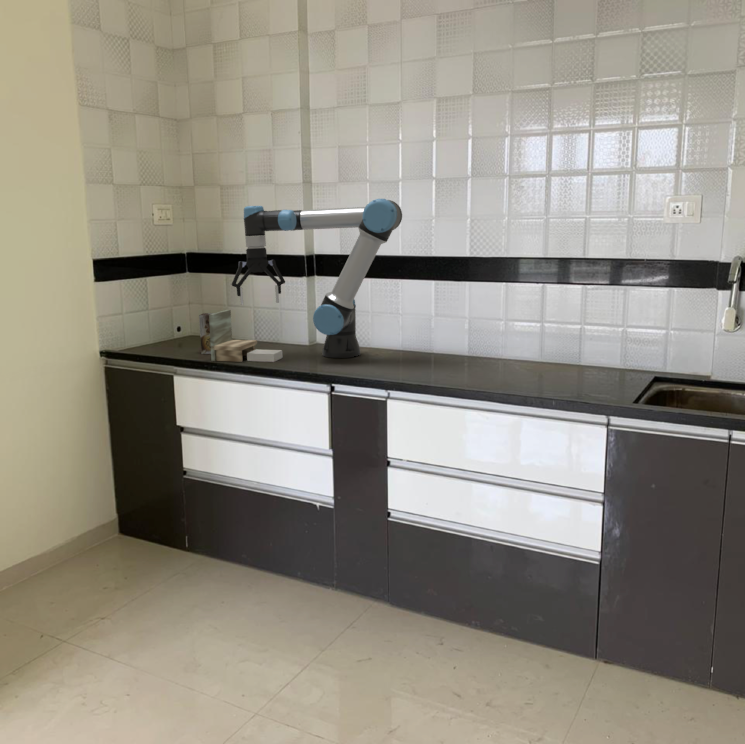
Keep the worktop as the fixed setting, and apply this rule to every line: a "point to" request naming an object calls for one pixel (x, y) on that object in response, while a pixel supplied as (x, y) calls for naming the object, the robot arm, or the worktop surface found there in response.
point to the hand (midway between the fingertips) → (259, 303)
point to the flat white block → (264, 355)
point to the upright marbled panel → (226, 339)
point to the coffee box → (205, 333)
